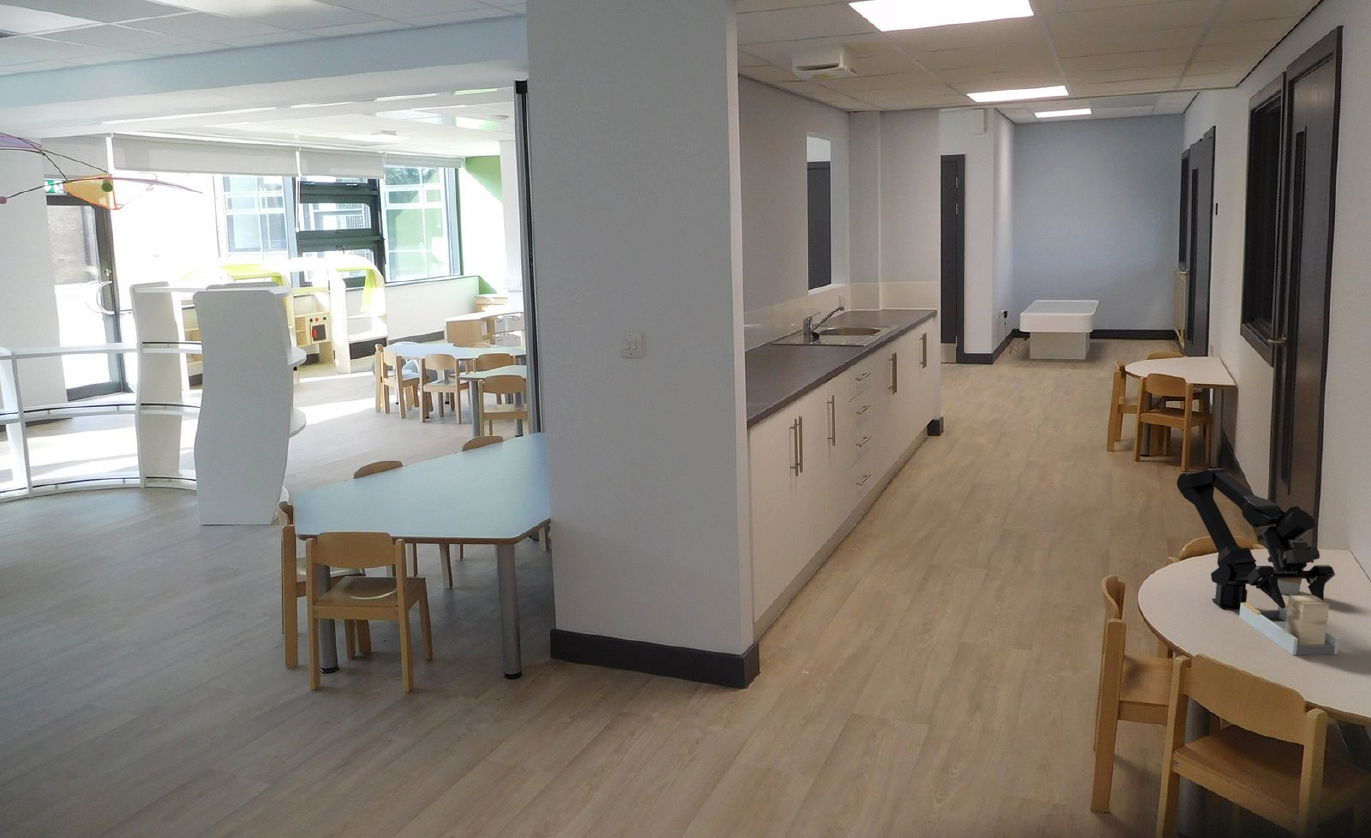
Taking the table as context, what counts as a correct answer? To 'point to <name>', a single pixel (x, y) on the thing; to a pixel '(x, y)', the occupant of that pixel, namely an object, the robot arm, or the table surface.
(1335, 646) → the channel
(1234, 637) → the table surface
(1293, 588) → the coffee cup
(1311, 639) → the beech block
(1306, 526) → the robot arm
